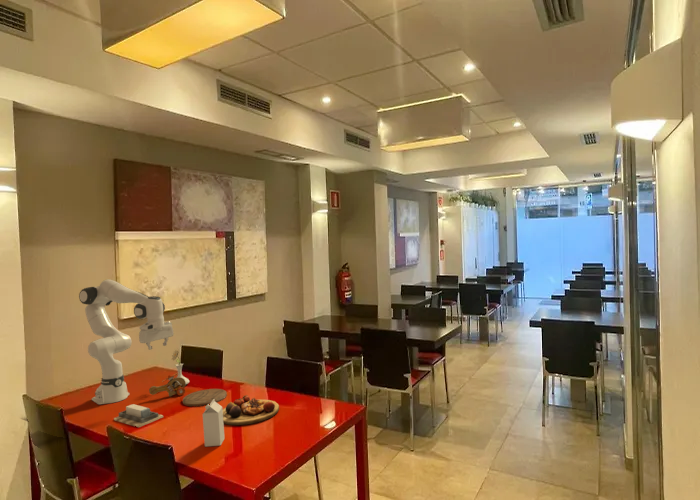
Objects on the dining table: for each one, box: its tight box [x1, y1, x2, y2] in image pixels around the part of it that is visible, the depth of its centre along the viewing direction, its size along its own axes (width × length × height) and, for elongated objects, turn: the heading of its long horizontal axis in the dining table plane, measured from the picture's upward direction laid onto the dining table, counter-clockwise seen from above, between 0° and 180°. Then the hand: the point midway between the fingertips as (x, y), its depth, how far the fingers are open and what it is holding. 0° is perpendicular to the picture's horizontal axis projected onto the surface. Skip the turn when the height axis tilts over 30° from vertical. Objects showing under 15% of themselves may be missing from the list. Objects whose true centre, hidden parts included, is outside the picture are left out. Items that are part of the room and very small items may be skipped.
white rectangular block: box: [125, 403, 151, 418], centre depth 231 cm, size 16×4×5 cm, turn 57°
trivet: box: [182, 388, 228, 408], centre depth 257 cm, size 25×25×2 cm
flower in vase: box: [171, 348, 190, 386], centre depth 284 cm, size 13×11×25 cm
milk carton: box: [202, 399, 225, 448], centre depth 196 cm, size 7×7×19 cm
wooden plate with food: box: [222, 394, 280, 426], centre depth 229 cm, size 32×32×8 cm
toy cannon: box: [148, 372, 186, 397], centre depth 264 cm, size 8×21×14 cm, turn 122°
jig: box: [113, 409, 164, 428], centre depth 231 cm, size 23×14×3 cm, turn 58°
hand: (157, 347), depth 253 cm, fingers open, 8 cm apart
